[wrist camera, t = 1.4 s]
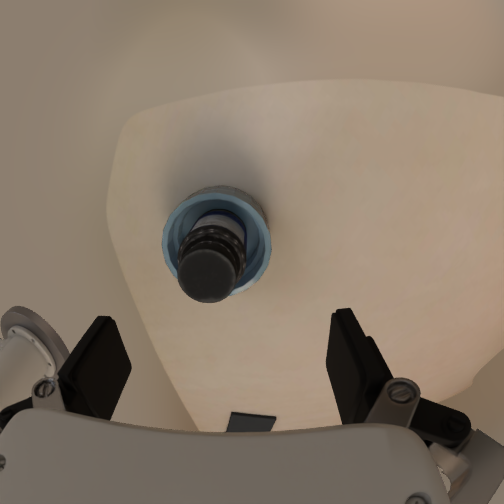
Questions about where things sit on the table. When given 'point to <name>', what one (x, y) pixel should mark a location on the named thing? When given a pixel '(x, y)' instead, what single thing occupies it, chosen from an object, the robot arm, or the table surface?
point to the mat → (250, 423)
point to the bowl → (235, 203)
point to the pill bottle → (212, 256)
